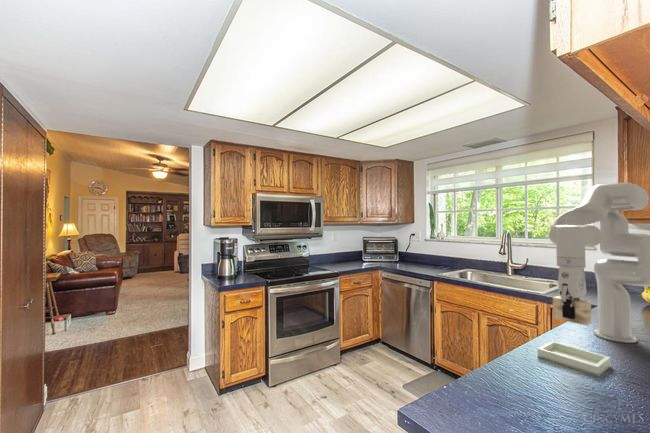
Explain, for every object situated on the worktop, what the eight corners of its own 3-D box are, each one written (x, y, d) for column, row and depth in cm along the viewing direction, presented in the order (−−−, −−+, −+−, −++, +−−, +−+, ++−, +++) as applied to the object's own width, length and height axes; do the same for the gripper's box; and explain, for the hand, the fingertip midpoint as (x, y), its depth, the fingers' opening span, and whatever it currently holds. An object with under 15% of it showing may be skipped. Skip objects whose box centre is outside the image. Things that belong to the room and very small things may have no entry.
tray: (552, 349, 110) (552, 340, 110) (610, 366, 96) (610, 357, 96) (537, 357, 103) (537, 348, 103) (598, 377, 90) (598, 367, 90)
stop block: (591, 322, 98) (590, 301, 98) (586, 325, 95) (586, 303, 95) (558, 315, 105) (557, 295, 105) (553, 317, 103) (552, 297, 103)
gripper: (575, 265, 93) (576, 324, 92) (593, 261, 102) (594, 315, 102) (546, 262, 99) (547, 318, 99) (566, 259, 108) (567, 310, 108)
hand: (571, 316), depth 100 cm, fingers closed on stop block, 4 cm apart
